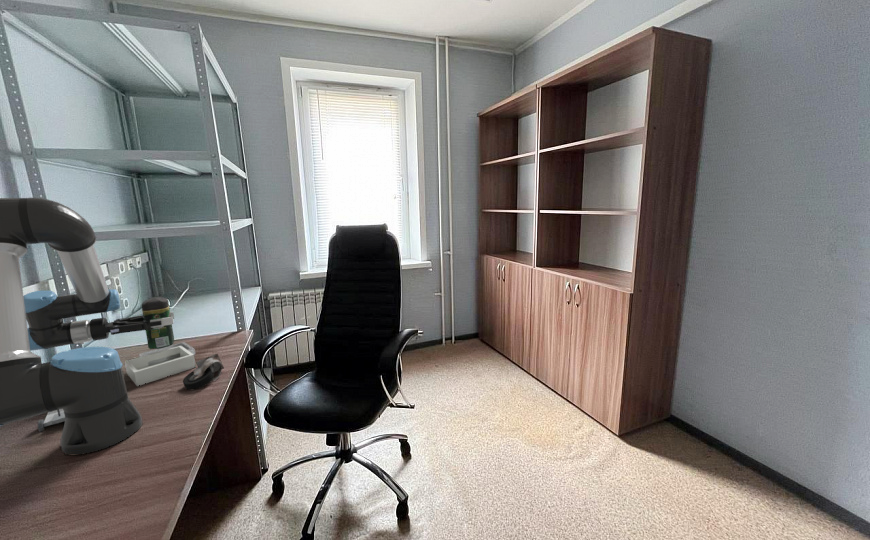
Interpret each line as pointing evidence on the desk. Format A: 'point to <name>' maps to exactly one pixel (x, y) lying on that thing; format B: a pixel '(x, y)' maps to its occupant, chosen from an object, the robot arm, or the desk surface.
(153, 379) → the tray
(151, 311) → the coffee jar
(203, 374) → the caster wheel
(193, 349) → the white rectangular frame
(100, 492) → the desk surface
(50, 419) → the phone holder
